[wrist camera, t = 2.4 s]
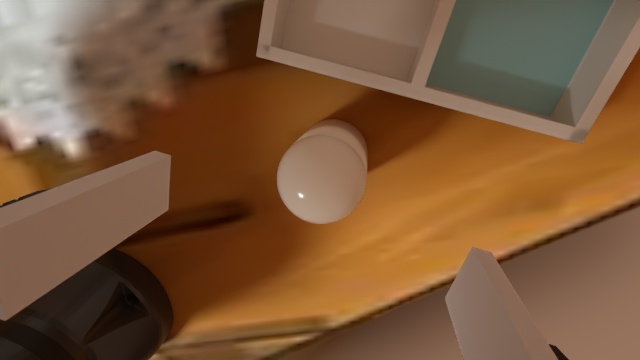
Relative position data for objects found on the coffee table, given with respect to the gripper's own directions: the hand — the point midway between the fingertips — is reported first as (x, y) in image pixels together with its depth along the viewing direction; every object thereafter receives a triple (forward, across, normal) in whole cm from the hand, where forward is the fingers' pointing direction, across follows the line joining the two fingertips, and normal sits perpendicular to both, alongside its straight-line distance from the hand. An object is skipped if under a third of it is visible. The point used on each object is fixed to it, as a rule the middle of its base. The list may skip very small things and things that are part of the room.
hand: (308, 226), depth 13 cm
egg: (+12, 0, 0) cm, 12 cm away
